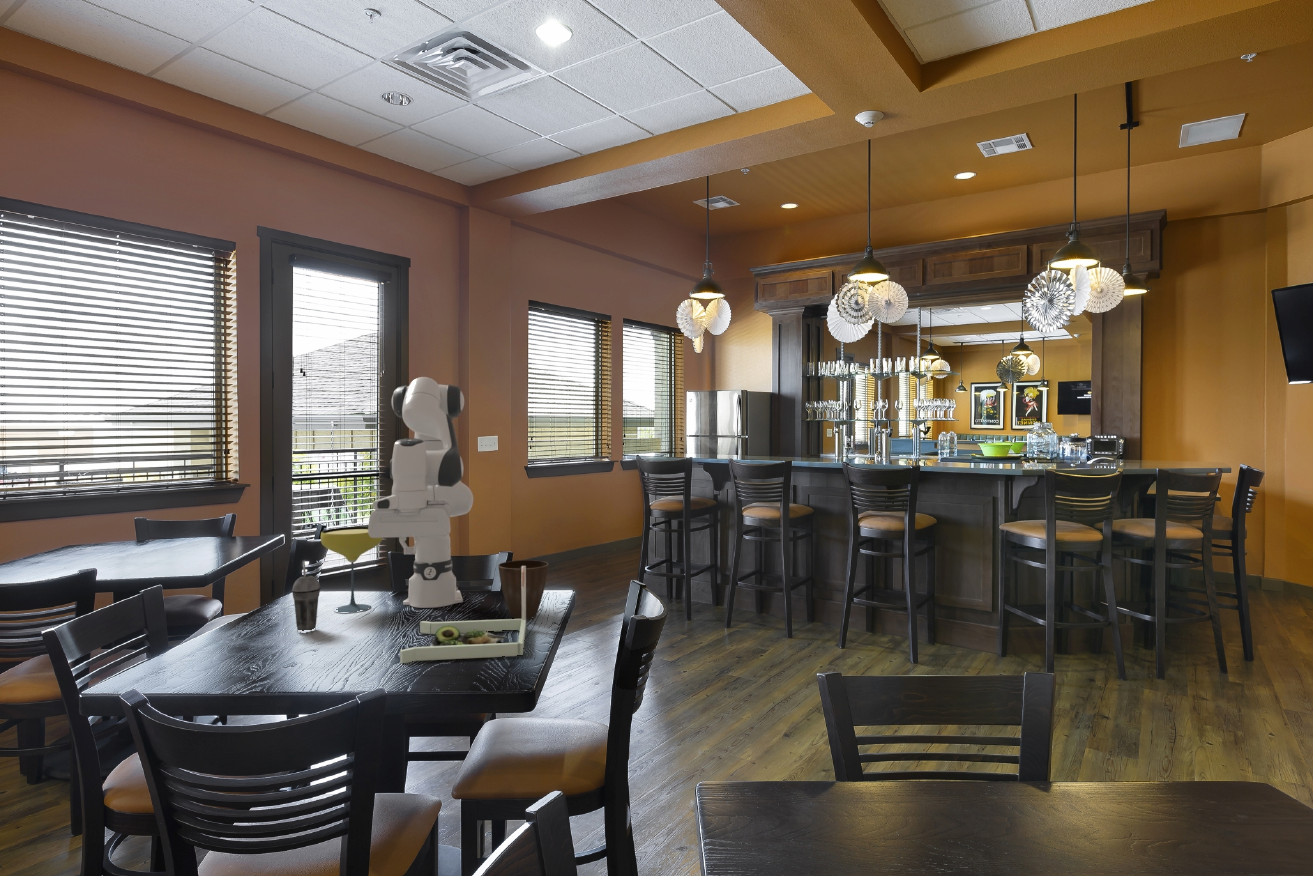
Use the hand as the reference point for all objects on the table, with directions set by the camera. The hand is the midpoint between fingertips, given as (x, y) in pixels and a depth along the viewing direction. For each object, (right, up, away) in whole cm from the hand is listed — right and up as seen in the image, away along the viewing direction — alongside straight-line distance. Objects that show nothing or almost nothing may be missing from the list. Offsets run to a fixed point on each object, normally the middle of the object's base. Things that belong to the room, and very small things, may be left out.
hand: (410, 554), depth 184 cm
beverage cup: (-34, -24, +15) cm, 45 cm away
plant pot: (+24, -24, +30) cm, 45 cm away
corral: (+15, -24, +2) cm, 28 cm away
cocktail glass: (-32, -24, +40) cm, 57 cm away
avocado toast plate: (+13, -25, +1) cm, 28 cm away
